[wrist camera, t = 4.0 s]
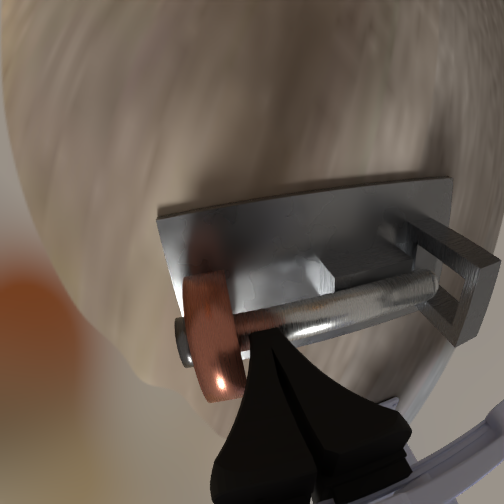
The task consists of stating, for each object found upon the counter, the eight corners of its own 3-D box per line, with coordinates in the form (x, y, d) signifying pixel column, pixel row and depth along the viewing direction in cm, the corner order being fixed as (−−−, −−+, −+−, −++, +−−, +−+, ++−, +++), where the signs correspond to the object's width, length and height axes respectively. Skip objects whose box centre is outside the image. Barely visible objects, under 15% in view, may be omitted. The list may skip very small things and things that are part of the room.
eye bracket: (430, 301, 21) (482, 353, 14) (199, 361, 19) (207, 450, 13) (448, 176, 16) (527, 209, 10) (157, 217, 14) (132, 290, 8)
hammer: (401, 296, 19) (452, 350, 13) (194, 346, 17) (200, 429, 12) (411, 214, 16) (481, 256, 11) (168, 257, 15) (157, 337, 9)
